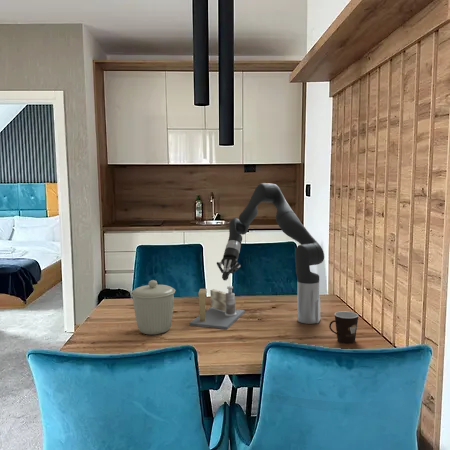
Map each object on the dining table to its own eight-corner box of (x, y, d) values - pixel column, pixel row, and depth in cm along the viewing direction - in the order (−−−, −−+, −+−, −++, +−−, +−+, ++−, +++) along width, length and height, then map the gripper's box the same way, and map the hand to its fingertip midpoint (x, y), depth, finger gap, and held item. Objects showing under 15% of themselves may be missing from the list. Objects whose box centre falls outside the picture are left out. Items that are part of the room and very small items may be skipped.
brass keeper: (206, 323, 192) (205, 293, 191) (199, 323, 193) (198, 293, 191) (207, 317, 201) (206, 288, 199) (200, 317, 201) (199, 288, 199)
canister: (173, 338, 175) (171, 285, 173) (127, 338, 176) (125, 286, 174) (179, 323, 193) (177, 275, 191) (137, 323, 194) (135, 275, 192)
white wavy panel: (236, 312, 200) (236, 293, 199) (230, 314, 198) (229, 295, 197) (215, 306, 212) (215, 287, 211) (209, 307, 209) (208, 289, 208)
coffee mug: (353, 336, 173) (354, 310, 172) (361, 344, 164) (361, 317, 163) (323, 337, 173) (323, 311, 172) (329, 345, 164) (329, 318, 163)
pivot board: (244, 312, 207) (244, 283, 205) (227, 329, 184) (226, 296, 183) (210, 309, 213) (209, 281, 211) (189, 325, 190) (188, 293, 189)
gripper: (218, 246, 231) (209, 274, 221) (242, 247, 226) (235, 276, 216) (222, 254, 236) (214, 282, 226) (246, 255, 232) (239, 284, 222)
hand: (224, 279), depth 221 cm, fingers closed
